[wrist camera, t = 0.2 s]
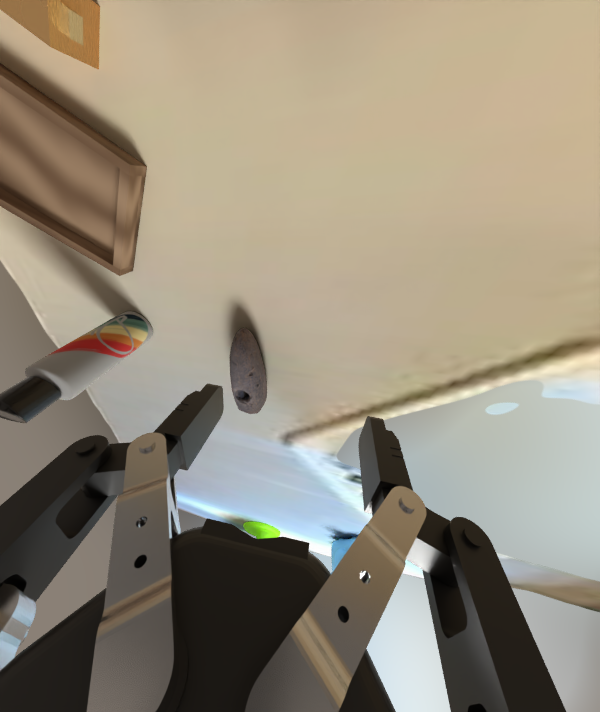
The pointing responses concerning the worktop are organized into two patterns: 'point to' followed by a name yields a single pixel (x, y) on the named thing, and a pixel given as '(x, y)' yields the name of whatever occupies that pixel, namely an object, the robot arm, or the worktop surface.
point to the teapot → (340, 550)
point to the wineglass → (261, 530)
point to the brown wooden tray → (67, 176)
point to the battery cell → (61, 25)
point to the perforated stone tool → (247, 373)
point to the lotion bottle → (74, 366)
